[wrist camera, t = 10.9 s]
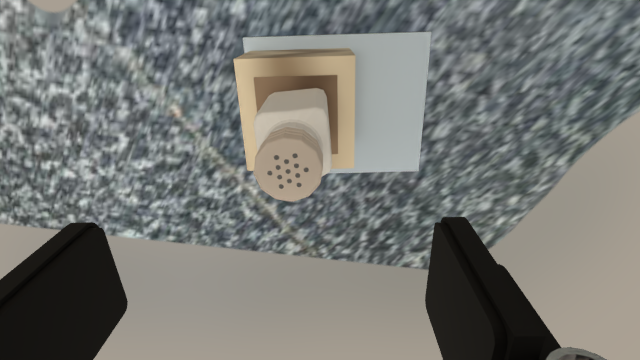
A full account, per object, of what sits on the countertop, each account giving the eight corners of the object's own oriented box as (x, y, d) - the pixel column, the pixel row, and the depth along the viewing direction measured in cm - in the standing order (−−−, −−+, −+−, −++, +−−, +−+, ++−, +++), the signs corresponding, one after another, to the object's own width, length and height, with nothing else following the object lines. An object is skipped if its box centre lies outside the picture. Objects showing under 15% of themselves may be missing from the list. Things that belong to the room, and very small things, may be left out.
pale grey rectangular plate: (428, 31, 29) (431, 31, 28) (416, 167, 34) (418, 171, 33) (244, 37, 29) (242, 37, 28) (259, 171, 34) (258, 174, 33)
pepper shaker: (276, 146, 26) (252, 212, 17) (266, 91, 24) (236, 133, 16) (330, 141, 26) (335, 205, 17) (325, 85, 24) (327, 124, 15)
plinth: (349, 47, 29) (355, 55, 23) (348, 142, 32) (354, 168, 27) (250, 50, 29) (233, 59, 23) (260, 144, 32) (247, 171, 27)
